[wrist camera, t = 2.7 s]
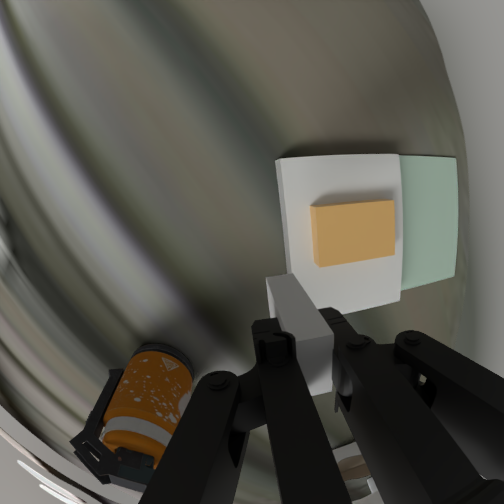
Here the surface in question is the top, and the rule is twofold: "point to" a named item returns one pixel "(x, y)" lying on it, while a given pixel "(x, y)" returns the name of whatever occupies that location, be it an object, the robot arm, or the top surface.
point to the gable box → (355, 469)
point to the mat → (428, 219)
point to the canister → (136, 417)
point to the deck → (335, 191)
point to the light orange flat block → (352, 231)
